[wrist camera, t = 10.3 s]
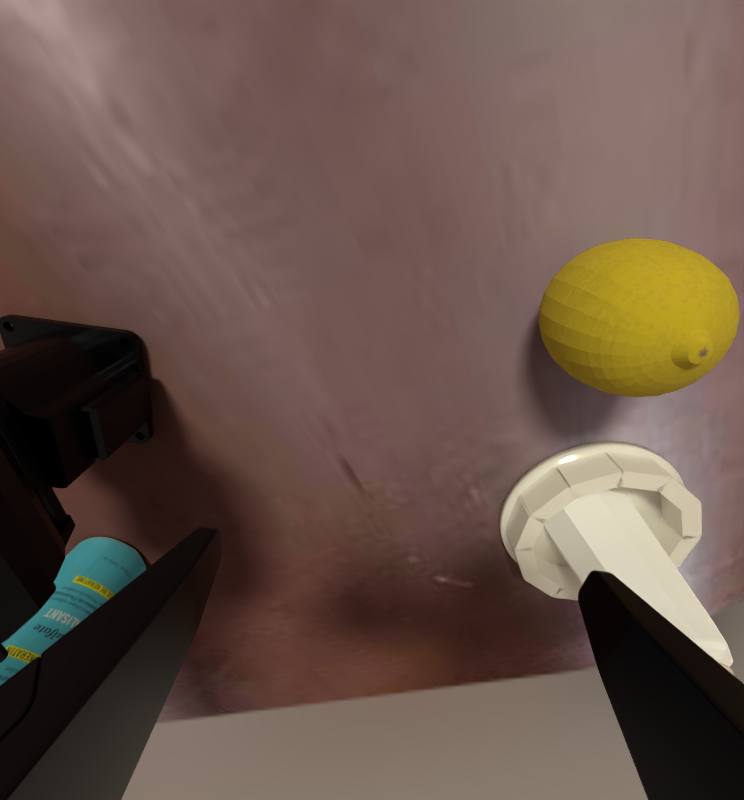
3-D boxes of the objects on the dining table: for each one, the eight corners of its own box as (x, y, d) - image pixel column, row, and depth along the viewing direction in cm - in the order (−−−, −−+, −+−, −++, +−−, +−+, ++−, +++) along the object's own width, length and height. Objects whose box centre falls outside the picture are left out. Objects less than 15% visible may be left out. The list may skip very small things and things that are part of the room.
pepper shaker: (542, 554, 25) (650, 779, 15) (544, 491, 23) (674, 710, 13) (628, 545, 24) (796, 770, 15) (639, 479, 22) (850, 697, 12)
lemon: (620, 346, 19) (765, 430, 12) (509, 354, 19) (586, 439, 12) (648, 226, 17) (853, 241, 9) (520, 237, 17) (625, 258, 10)
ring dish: (479, 563, 26) (488, 595, 24) (531, 430, 21) (548, 455, 19) (629, 580, 27) (651, 612, 25) (714, 454, 22) (750, 480, 20)
